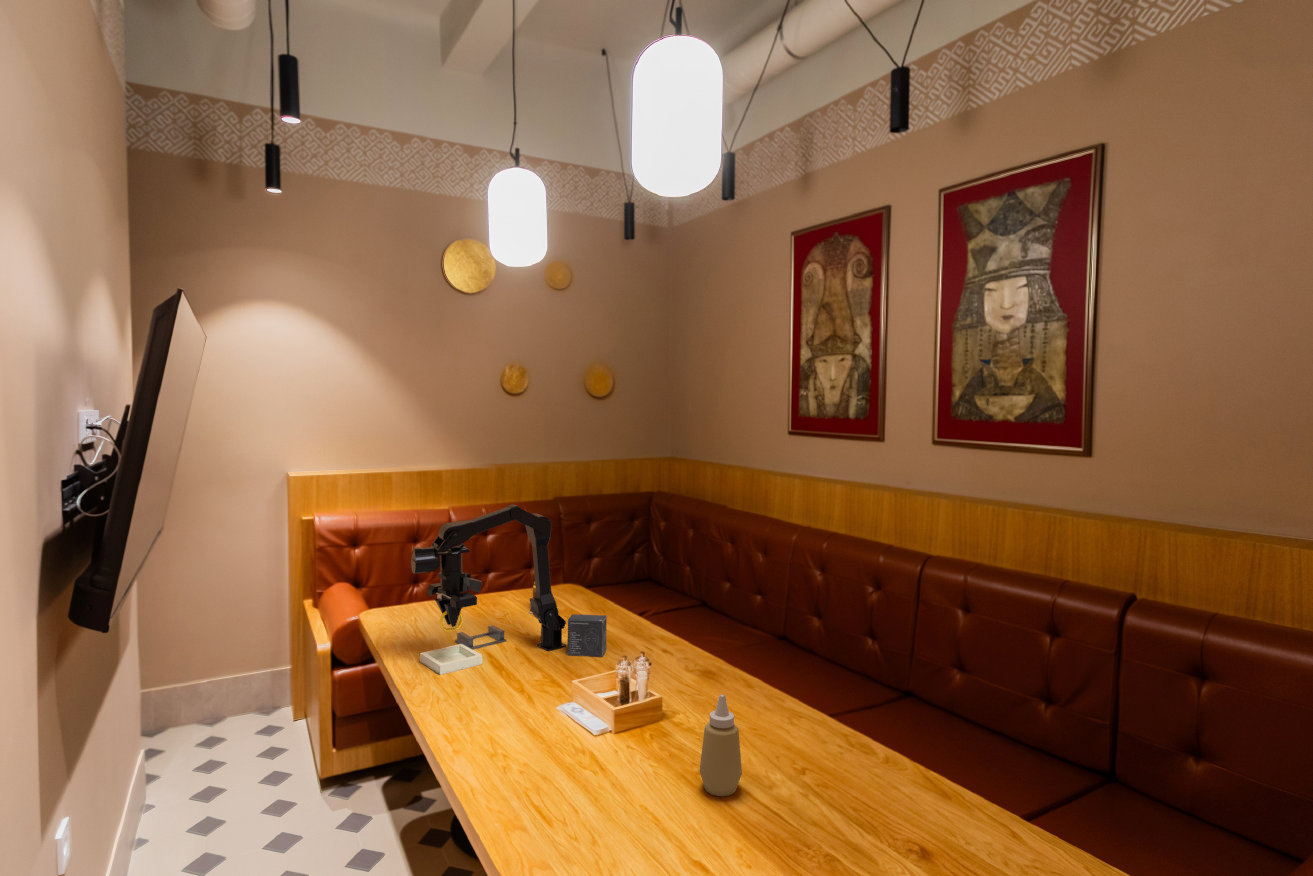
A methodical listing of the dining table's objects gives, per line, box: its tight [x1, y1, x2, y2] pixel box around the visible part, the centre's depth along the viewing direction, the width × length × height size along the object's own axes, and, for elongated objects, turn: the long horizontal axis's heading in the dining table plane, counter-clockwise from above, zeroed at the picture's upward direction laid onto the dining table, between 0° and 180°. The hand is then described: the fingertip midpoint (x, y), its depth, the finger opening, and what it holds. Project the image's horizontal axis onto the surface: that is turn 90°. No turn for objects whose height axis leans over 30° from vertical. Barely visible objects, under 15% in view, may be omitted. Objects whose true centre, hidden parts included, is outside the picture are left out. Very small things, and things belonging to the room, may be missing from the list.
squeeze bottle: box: [699, 694, 743, 797], centre depth 136 cm, size 8×8×18 cm
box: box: [566, 613, 608, 658], centre depth 209 cm, size 11×7×10 cm, turn 84°
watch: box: [439, 611, 464, 632], centre depth 199 cm, size 6×3×6 cm, turn 120°
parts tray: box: [419, 643, 483, 676], centre depth 199 cm, size 12×12×2 cm
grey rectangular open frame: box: [454, 624, 507, 650], centre depth 217 cm, size 9×12×3 cm
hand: (451, 625), depth 199 cm, fingers closed on watch, 2 cm apart
